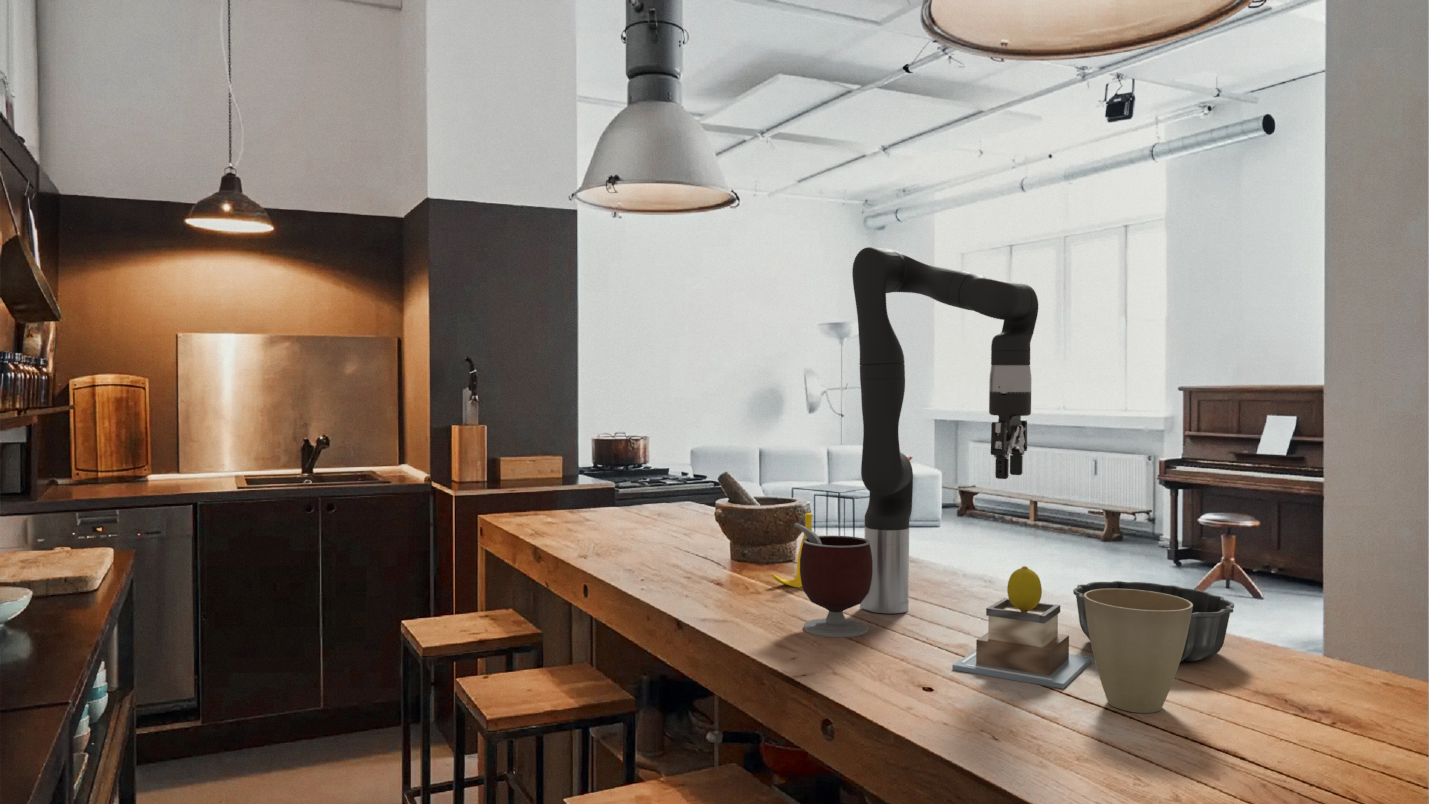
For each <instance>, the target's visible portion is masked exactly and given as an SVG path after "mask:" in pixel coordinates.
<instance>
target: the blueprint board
mask: <svg viewBox="0 0 1429 804" xmlns="http://www.w3.org/2000/svg"><path fill="white" fill-rule="evenodd" d="M1091 663H1092V657H1091V656H1086V655H1078V654H1073V653H1069V659H1068V660H1066V661H1065V662H1064V663H1063V664H1062V665H1061V666H1060V667H1059V668H1057V669H1056V670H1055V671H1054V672H1053V673H1052V674H1051V675H1050V676H1048V675H1042V674H1036V673H1030V672H1024V671H1018V670H1012V669H1006V668H1000V667H994V666H988V665H982V664H976V649H974V650H973V651H971V652H970V653H968V654H967V655H965V656H963V657H962V658H961V659H959V660H957V661H956V662H954V663H953V664H952V665H951V666H952V669H951V670H952V671H959V672H964V673H970V674H976V675H981V676H986V677H987V676H988V677H992V678H999V679H1005V680H1011V681H1017V682H1023V683H1028V684H1035V685H1039V686H1044V687H1052V688H1057V689H1062V690H1063V689H1065V688H1066V687H1067V686H1068V685H1069V684H1070V683H1071V682H1072V681H1073V680H1074V679H1075V678H1076V677H1077V676H1078V675H1079V674H1081V672H1083V670H1084V669H1086V668H1087V667H1088V666H1089V665H1090V664H1091Z"/></svg>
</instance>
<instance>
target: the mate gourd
mask: <svg viewBox="0 0 1429 804" xmlns="http://www.w3.org/2000/svg"><path fill="white" fill-rule="evenodd" d="M793 526H794V527H795V528H797V529H799V530H800V531H801V532H802V533H803V535H804V534H805V535H806V537H807V538H805V539H803V538H802V539H803V546H802V550H801V557H800V576H801V583H802V587H801V588H802V590H803V592H804V594H805V595H806V597H807V598H808V599H809V601H810V602H811V603H812V604H814V605H817V606H819V607H821V608H822V609H825V610H827V611H828V613H827V615H826V617H823V618H815V619H811V620H807V621H805V622H804V623H803V630H804V632H807V633H809V634H812V635H816V636H819V637H825V638H827V637H828V638H852V637H858V636H862V635H865V634H867V633H868V632H869V631H868V629H869V627H868V625H867V624H866V623H864V622H861V621H859V620H854V619H848V618H846V617H845V615H844V613H843V611H846V610H848V609H851V608H854V607H856V606H858V605H860V603H861V602H862V601H863V600H864V598H865V597H866V596H867V594H868V593H869V590H870V586H871V581H872V572H873V561H872V553H871V548H870V541H869V540H867V539H865V537H864V538H863V537H859V536H852V535H851V536H850V535H849V536H848V535H817V534H816V532H814V531H813V530H812V531H811V530H810V529H808V528H806V526H805V525H801V524H800V523H798V522H795V523H794V525H793Z"/></svg>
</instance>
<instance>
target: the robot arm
mask: <svg viewBox="0 0 1429 804" xmlns="http://www.w3.org/2000/svg"><path fill="white" fill-rule="evenodd" d="M851 273H852V276H851V277H852V284H853V291H854V292H853V294H854V298H855V299H854V300H855V308H856V315H857V326H858V327H857V328H858V345H859V347H858V348H859V383H860V395H861V396H860V397H861V398H860V399H861V413H862V423H863V425H862V426H863V428H862V429H863V439H862V449H861V450H862V451H861V454H862V455H861V466H860V467H861V468H860V474H861V475H860V477H861V481H862V483H863V484H864V487H865V489H867V491H869V495H868V496H869V499H868V505H867V509H866V511H865V514H864V539H867V540H869V541H870V548H871V553H872V561H873V572H872V581H871V586H870V590H869V593H868V594H867V596H866V597H865V598H864V600H863V601H862V602H861V603H860V604H859V608H860V609H862V610H866V611H869V612H872V613H878V614H901V613H906V612H908V611H909V602H910V601H909V599H910V598H909V594H910V593H909V592H910V591H909V590H910V589H909V588H910V585H909V583H910V579H909V577H910V519H911V514H912V510H913V492H914V491H913V490H914V489H913V488H914V487H913V486H914V474H913V466H912V464H911V461H910V459H909V458H908V456H906V455H905V454H904V453H903V452H901V450H900V447H901V446H900V439H899V438H900V436H899V425H900V417H901V412H902V409H903V403H904V397H905V391H906V390H905V389H906V370H905V369H906V368H905V367H906V366H905V363H906V362H905V356H904V351H903V348H902V345H901V343H900V341H899V338H898V337H897V334H896V332H895V330H894V328H893V326H892V324H891V321H890V319H889V318H890V317H889V314H888V308H887V294H890V293H910V294H911V293H912V294H917V295H918V294H919V295H923V296H926V297H928V298H930V299H933V301H934V300H935V301H937V302H938V303H942V304H944V305H947V306H951V307H954V308H955V307H956V308H959V309H962V310H967V311H973V312H975V313H978V314H979V315H983V316H986V317H989V318H991V319H995V320H1000V321H1001V320H1003V324H1002V328H1001V332H1000V333H999V334H996V335H994V336H993V338H992V340H991V347H990V348H991V349H990V353H991V354H990V357H991V358H990V372H989V382H988V383H989V387H988V389H989V390H988V392H989V393H988V412H989V413H988V414H989V415H991V416H998V419H997V421H992V422H991V429H990V430H991V431H990V432H991V434H990V455H991V456H993V458H995V474H994V475H995V476H994V477H995V478H996V479H998V480H999V479H1000V480H1007V479H1009V474H1010V475H1011V476H1021V475H1022V474H1023V464H1024V463H1023V460H1024V457H1023V456H1024V455H1025V452H1027V451H1028V421H1027V420H1026V419H1022V418H1021V417H1027V416H1030V415H1031V414H1032V372H1031V371H1032V370H1031V342H1032V340H1033V339H1032V338H1033V335H1034V331H1035V328H1036V324H1037V319H1038V314H1039V299H1038V296H1037V293H1036V291H1035V290H1034V288H1033V287H1032V286H1030V285H1028V284H1026V283H1022V282H1020V283H1019V282H1013V281H1004V280H999V279H992V278H987V277H986V276H984V275H981V274H977V273H973V272H968V271H964V270H959V269H955V268H954V269H953V268H948V267H943V266H942V267H941V266H937V265H932V264H928V263H925V262H922V261H920V260H917V259H916V258H914V257H911V256H909V255H907V254H904V253H902V252H900V251H898V250H895V249H893V248H885V247H884V248H883V247H873V246H869V247H867V246H866V247H864V248H862V249H860V251H859V252H858V253H857V254H856V256H855V257H854V260H853V265H852V271H851Z"/></svg>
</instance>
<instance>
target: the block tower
mask: <svg viewBox="0 0 1429 804" xmlns="http://www.w3.org/2000/svg"><path fill="white" fill-rule="evenodd" d="M1060 613H1061V605H1060V604H1056V603H1055V604H1053V603H1046V602H1041V601H1040V602H1039V603H1038V605H1037V606H1036V607H1035V608H1033V609H1030V610H1029V611H1028V612H1027V613H1026V612H1021V611H1020V610H1019V609H1018V608H1016V607H1015V606H1013V604H1012V603H1011V602H1010V600H1009V597H1008V598H1007V597H1004V598H1001V599H1000V600H999V601H997V602H995V603H993V604H991V605H989V606H988V607H986V609H985V616H986V617H988V618H987V619H988V625H987V626H988V628H987V629H988V632H986V633H985V634H983V635H981V636H980V637H979V638H977V639H976V640H975V641H976V647H975V648H976V649H975V650H976V664H982V665H988V666H994V667H1000V668H1006V669H1012V670H1018V671H1024V672H1030V673H1036V674H1042V675H1048V676H1050V675H1051V674H1052V673H1053V672H1054V671H1055V670H1056V669H1057V668H1059V667H1060V666H1061V665H1062V664H1063V663H1064V662H1065V661H1066V660H1068V659H1069V654H1070V635H1069V634H1064V633H1059V632H1058V631H1059V625H1058V624H1059V614H1060Z"/></svg>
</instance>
